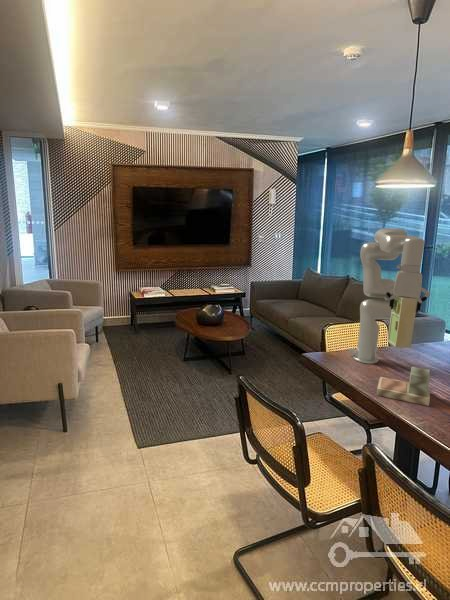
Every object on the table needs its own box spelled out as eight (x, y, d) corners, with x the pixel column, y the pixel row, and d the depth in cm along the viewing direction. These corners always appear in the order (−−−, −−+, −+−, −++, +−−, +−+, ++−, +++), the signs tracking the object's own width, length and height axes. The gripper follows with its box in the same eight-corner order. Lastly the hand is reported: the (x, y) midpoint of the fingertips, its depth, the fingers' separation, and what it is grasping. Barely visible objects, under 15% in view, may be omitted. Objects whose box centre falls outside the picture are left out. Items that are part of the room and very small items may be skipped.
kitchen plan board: (376, 395, 178) (379, 370, 176) (379, 382, 191) (382, 359, 188) (428, 405, 171) (432, 380, 168) (428, 392, 183) (432, 368, 181)
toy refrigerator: (385, 341, 182) (392, 293, 177) (401, 341, 183) (409, 294, 178) (393, 347, 174) (401, 298, 169) (410, 348, 175) (418, 298, 170)
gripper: (386, 267, 170) (381, 309, 174) (434, 272, 163) (427, 315, 167) (387, 265, 177) (382, 305, 181) (433, 269, 170) (427, 311, 174)
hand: (404, 310), depth 174 cm, fingers closed on toy refrigerator, 9 cm apart
